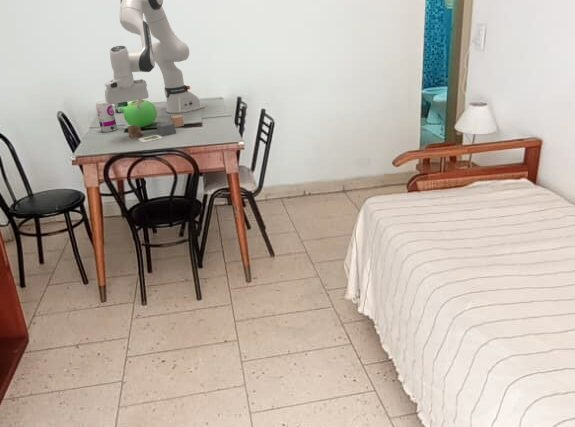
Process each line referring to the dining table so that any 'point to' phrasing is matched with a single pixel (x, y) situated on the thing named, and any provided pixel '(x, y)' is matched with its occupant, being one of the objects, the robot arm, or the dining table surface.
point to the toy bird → (139, 113)
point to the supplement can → (106, 116)
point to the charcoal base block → (166, 128)
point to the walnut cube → (134, 131)
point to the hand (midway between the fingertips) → (129, 110)
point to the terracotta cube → (177, 120)
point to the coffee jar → (121, 105)
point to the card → (150, 138)
